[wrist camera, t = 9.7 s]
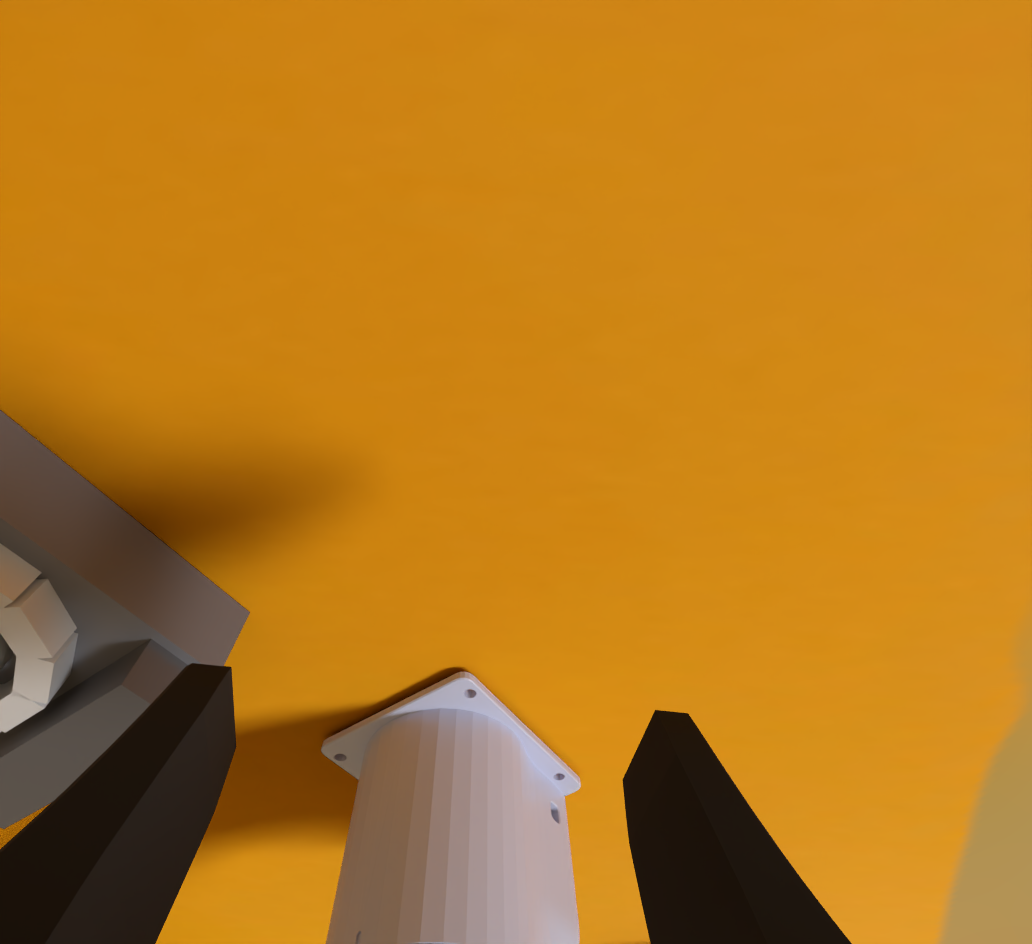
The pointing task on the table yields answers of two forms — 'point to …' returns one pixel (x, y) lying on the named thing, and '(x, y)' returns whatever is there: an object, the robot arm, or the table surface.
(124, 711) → the grey plate with ring
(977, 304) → the table surface
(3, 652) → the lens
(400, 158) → the table surface
